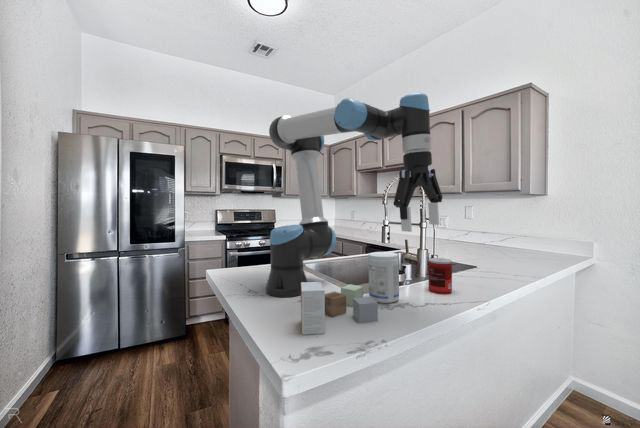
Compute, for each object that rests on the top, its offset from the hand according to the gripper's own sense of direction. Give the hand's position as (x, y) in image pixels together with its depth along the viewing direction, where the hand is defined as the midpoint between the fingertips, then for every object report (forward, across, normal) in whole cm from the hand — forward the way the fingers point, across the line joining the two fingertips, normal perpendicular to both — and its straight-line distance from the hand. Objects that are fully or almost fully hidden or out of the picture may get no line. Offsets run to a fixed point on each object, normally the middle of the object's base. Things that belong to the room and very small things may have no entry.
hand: (421, 227), depth 80 cm
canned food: (+26, +20, +7) cm, 33 cm away
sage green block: (+23, -13, +17) cm, 31 cm away
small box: (+21, -33, +10) cm, 41 cm away
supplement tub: (+24, -2, +14) cm, 28 cm away
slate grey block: (+22, -19, +6) cm, 30 cm away
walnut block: (+22, -22, +15) cm, 35 cm away
